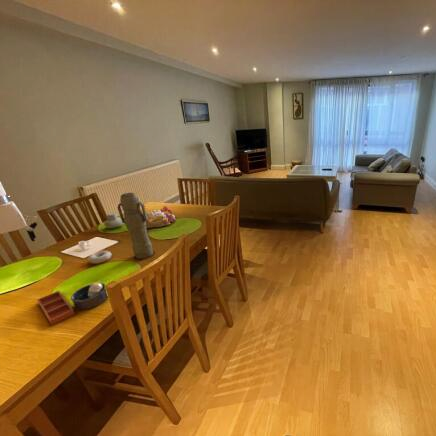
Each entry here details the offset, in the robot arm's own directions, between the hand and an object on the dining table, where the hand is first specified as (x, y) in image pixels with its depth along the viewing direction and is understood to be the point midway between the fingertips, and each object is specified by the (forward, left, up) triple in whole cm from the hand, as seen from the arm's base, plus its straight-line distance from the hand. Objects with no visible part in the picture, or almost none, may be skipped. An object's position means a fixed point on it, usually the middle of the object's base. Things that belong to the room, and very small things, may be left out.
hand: (14, 245), depth 88 cm
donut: (+26, +18, -26) cm, 41 cm away
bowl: (+12, -16, -26) cm, 33 cm away
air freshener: (+48, +60, -26) cm, 81 cm away
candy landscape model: (+70, +44, -26) cm, 87 cm away
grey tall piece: (+42, +4, -26) cm, 50 cm away
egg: (+12, -16, -25) cm, 32 cm away
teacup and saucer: (+28, +40, -26) cm, 56 cm away
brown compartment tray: (+2, -10, -26) cm, 28 cm away
